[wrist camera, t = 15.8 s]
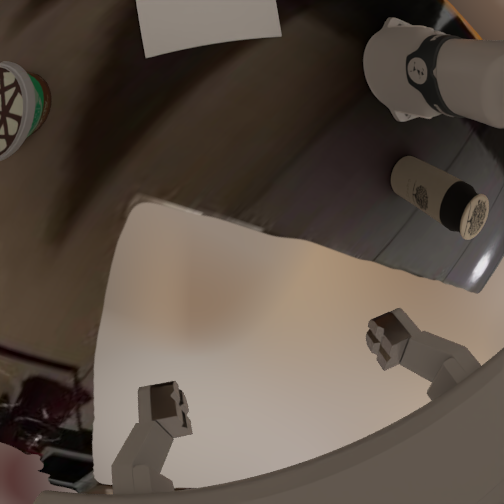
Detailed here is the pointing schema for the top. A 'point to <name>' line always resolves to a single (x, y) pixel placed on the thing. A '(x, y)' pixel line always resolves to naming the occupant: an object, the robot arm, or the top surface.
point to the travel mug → (440, 196)
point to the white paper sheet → (203, 23)
